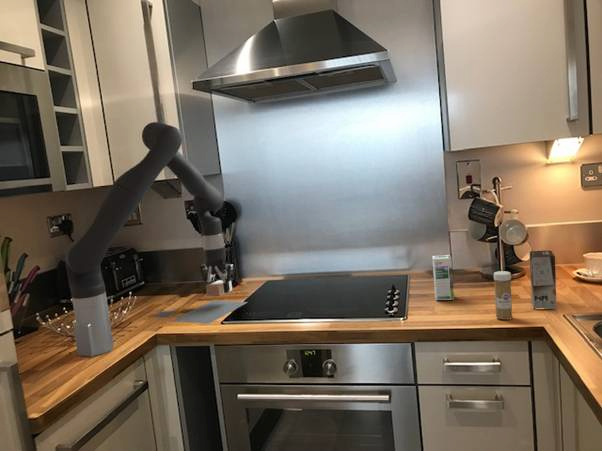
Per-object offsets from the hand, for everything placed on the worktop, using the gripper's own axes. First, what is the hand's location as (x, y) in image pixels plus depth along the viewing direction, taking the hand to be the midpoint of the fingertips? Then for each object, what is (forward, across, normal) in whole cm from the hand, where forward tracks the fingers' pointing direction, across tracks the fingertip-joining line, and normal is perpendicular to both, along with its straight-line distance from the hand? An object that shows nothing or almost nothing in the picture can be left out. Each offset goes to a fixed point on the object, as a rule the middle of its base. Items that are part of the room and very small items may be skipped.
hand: (219, 292), depth 184 cm
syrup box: (+6, -76, -21) cm, 79 cm away
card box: (0, 0, 0) cm, 0 cm away
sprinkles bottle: (+6, -96, -4) cm, 96 cm away
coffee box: (+6, -106, -18) cm, 107 cm away
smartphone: (+6, +15, +16) cm, 23 cm away
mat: (+6, 0, +6) cm, 8 cm away
